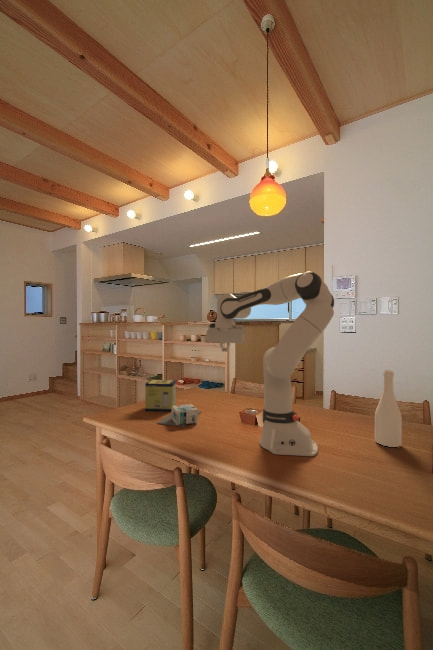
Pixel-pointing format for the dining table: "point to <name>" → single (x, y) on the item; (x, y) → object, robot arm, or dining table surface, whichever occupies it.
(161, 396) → the protein box
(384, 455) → the dining table surface
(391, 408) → the wine bottle
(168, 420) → the rubber mat
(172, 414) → the light bulb box
